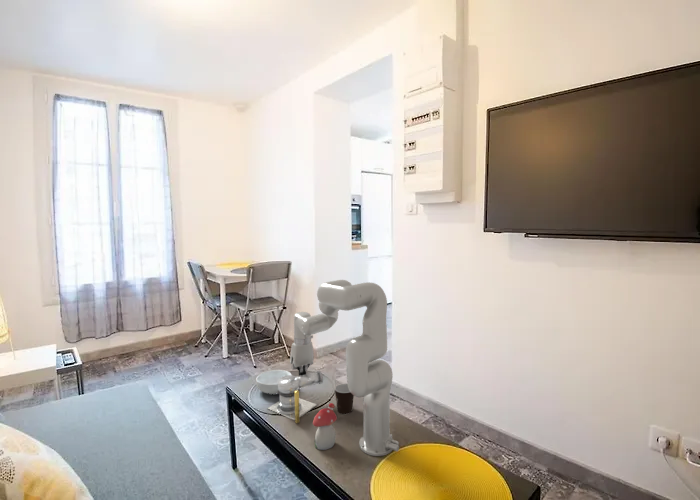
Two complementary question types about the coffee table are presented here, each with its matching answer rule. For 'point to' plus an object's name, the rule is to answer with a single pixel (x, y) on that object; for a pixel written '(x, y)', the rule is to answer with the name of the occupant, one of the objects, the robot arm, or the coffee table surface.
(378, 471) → the coffee table surface
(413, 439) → the coffee table surface
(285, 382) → the elbow
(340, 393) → the coffee mug
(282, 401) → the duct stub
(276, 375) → the cereal bowl
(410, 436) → the coffee table surface
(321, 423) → the decorative ornament
